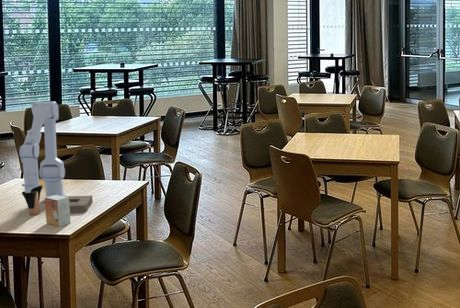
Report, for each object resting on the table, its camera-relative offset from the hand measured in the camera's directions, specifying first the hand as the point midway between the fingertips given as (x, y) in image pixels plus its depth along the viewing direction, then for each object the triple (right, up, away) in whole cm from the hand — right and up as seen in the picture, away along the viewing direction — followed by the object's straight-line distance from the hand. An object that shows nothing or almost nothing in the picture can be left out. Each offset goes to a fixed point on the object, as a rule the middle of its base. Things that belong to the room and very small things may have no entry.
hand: (33, 205), depth 264 cm
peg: (0, -3, +1) cm, 3 cm away
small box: (+14, -6, -14) cm, 20 cm away
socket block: (+14, -1, +9) cm, 16 cm away
